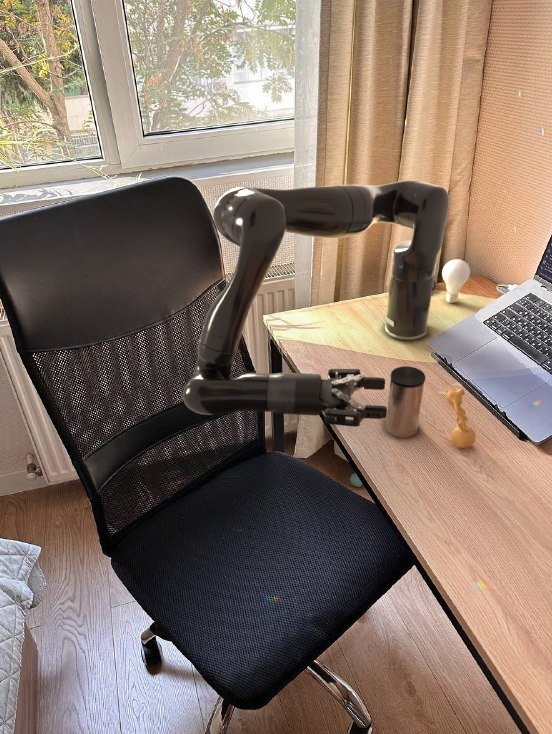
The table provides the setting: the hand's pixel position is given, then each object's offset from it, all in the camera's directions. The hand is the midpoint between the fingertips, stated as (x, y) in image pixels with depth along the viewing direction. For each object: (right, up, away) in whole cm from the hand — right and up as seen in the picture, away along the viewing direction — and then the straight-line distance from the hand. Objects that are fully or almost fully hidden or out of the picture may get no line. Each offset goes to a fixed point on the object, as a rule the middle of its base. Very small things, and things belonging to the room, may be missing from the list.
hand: (385, 397), depth 103 cm
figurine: (+12, -8, -1) cm, 15 cm away
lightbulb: (+26, +24, +42) cm, 55 cm away
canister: (+4, -6, +3) cm, 8 cm away
